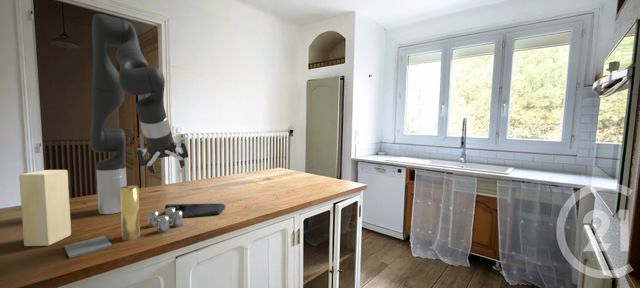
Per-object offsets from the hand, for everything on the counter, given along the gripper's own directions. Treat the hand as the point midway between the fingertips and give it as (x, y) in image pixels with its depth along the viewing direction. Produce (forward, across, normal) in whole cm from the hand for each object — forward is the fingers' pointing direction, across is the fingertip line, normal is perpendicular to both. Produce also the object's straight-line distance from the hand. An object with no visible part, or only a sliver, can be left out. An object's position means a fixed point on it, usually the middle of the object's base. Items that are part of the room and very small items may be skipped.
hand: (168, 169), depth 92 cm
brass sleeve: (+12, +13, +15) cm, 23 cm away
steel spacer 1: (+17, +8, +9) cm, 20 cm away
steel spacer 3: (+18, +3, +8) cm, 20 cm away
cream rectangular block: (+13, +35, +7) cm, 38 cm away
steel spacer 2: (+14, +5, +15) cm, 21 cm away
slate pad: (+9, +23, +16) cm, 30 cm away
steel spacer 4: (+16, +1, +12) cm, 20 cm away
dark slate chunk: (+24, -5, +2) cm, 25 cm away
